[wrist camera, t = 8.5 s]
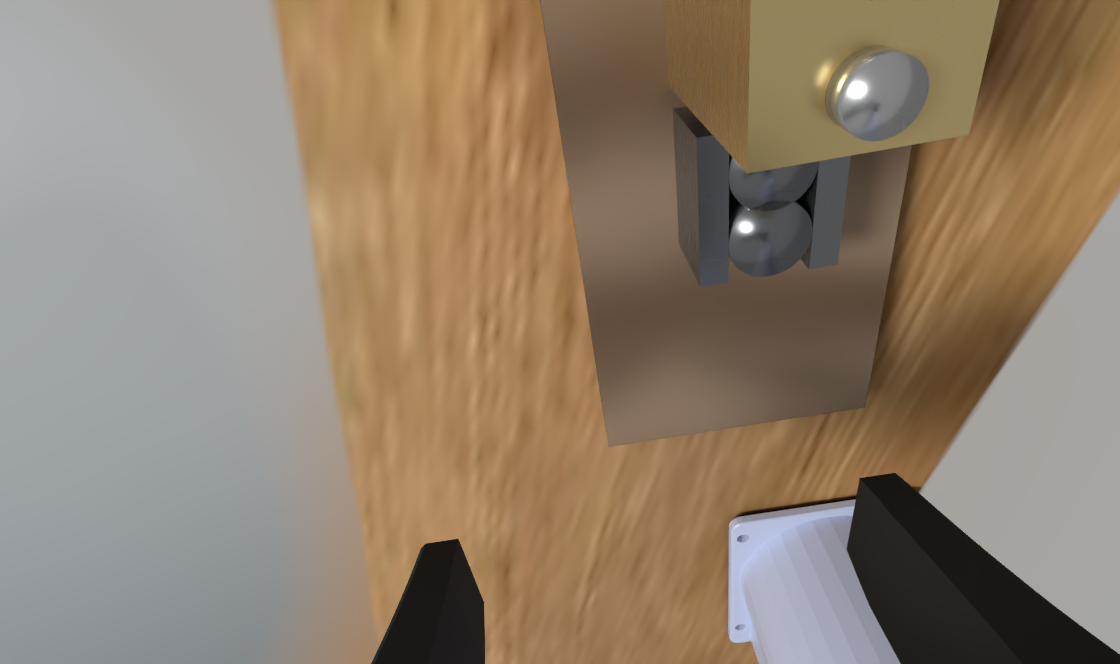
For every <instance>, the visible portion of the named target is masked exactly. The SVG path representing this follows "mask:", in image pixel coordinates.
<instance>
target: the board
mask: <svg viewBox="0 0 1120 664" xmlns="http://www.w3.org/2000/svg"><path fill="white" fill-rule="evenodd" d="M540 3H541V9H542V16H543V22H544V29H545V35H546V42H547V48H548V55H549V61H550V68H551V75H552V81H553V88H554V94H555V101H556V107H557V114H558V120H559V127H560V133H561V140H562V146H563V153H564V159H565V166H566V172H567V179H568V185H569V192H570V199H571V205H572V212H573V218H574V225H575V231H576V238H577V244H578V251H579V257H580V264H581V270H582V277H583V283H584V290H585V296H586V303H587V310H588V316H589V323H590V329H591V336H592V342H593V349H594V355H595V362H596V368H597V375H598V381H599V388H600V394H601V401H602V407H603V414H604V421H605V427H606V433H607V438H608V444H609V447H611V446H618V445H624V444H631V443H637V442H644V441H650V440H656V439H663V438H669V437H676V436H682V435H689V434H695V433H702V432H708V431H714V430H721V429H727V428H734V427H740V426H747V425H753V424H760V423H766V422H772V421H779V420H785V419H792V418H798V417H805V416H811V415H818V414H824V413H830V412H837V411H843V410H850V409H856V408H863V407H865V405H866V400H867V394H868V389H869V383H870V377H871V372H872V366H873V361H874V355H875V349H876V344H877V338H878V333H879V327H880V322H881V316H882V310H883V305H884V299H885V294H886V288H887V283H888V277H889V271H890V266H891V260H892V255H893V249H894V243H895V238H896V232H897V227H898V221H899V216H900V210H901V204H902V199H903V193H904V188H905V182H906V176H907V171H908V165H909V160H910V154H911V149H912V145H909V146H903V147H897V148H891V149H886V150H880V151H874V152H868V153H863V154H857V155H851V159H850V168H849V176H848V184H847V192H846V200H845V209H844V217H843V225H842V233H841V241H840V249H839V258H838V265H834V266H828V267H822V268H816V269H810V270H809V269H808V268H807V266H806V265H805V264H804V263H803V262H802V260H801V259H800V260H799V261H798V262H797V263H795V264H794V265H793V266H792V267H790V268H789V269H787V270H785V271H783V272H781V273H779V274H776V275H772V276H766V277H757V276H751V275H748V274H746V273H744V272H742V271H740V270H739V269H738V268H737V267H736V266H735V265H734V263H733V262H732V260H731V259H730V257H729V279H728V283H724V284H718V285H712V286H706V287H700V286H699V284H698V282H697V280H696V278H695V276H694V274H693V272H692V270H691V268H690V266H689V264H688V261H687V259H686V257H685V255H684V253H683V251H682V249H681V247H680V245H679V235H678V213H677V192H676V171H675V149H674V128H673V108H679V107H684V106H686V105H685V104H684V103H683V102H682V101H681V99H680V98H679V97H678V96H677V95H676V94H675V93H674V92H673V91H672V89H671V88H670V87H669V80H668V61H667V42H666V23H665V4H664V0H540Z"/></svg>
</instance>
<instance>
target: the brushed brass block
mask: <svg viewBox="0 0 1120 664" xmlns="http://www.w3.org/2000/svg"><path fill="white" fill-rule="evenodd" d="M999 1H1000V0H664V4H665V23H666V42H667V61H668V80H669V87H670V88H671V89H672V91H673V92H674V93H675V94H676V95H677V96H678V97H679V98H680V99H681V101H682V102H683V103H684V104H685V105H686V106H687V107H688V108H689V109H690V111H691V112H692V113H693V114H694V115H695V116H696V117H697V118H698V119H699V121H700V122H701V123H702V124H703V125H704V126H705V127H706V128H707V129H708V131H709V132H710V133H711V134H712V135H713V136H714V137H715V138H716V139H717V141H718V142H719V143H720V144H721V145H722V146H723V147H724V148H725V149H726V150H727V152H728V153H729V154H730V155H731V156H732V157H733V158H734V159H735V160H736V162H737V163H738V164H739V165H740V166H741V167H742V168H743V169H744V170H745V172H746V173H747V174H748V173H753V172H759V171H765V170H771V169H776V168H782V167H788V166H794V165H799V164H805V163H811V162H817V161H822V160H828V159H834V158H840V157H845V156H851V155H857V154H863V153H868V152H874V151H880V150H886V149H891V148H897V147H903V146H909V145H914V144H920V143H926V142H932V141H937V140H943V139H949V138H955V137H960V136H966V135H969V133H970V128H971V124H972V119H973V115H974V111H975V106H976V102H977V97H978V93H979V89H980V84H981V80H982V75H983V71H984V67H985V62H986V58H987V53H988V49H989V45H990V40H991V36H992V32H993V27H994V23H995V18H996V14H997V10H998V5H999Z"/></svg>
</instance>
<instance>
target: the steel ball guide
mask: <svg viewBox="0 0 1120 664" xmlns="http://www.w3.org/2000/svg"><path fill="white" fill-rule="evenodd" d="M673 128H674V149H675V171H676V192H677V213H678V235H679V245H680V247H681V249H682V251H683V253H684V255H685V257H686V259H687V261H688V264H689V266H690V268H691V270H692V272H693V274H694V276H695V278H696V280H697V282H698V284H699V286H700V287H706V286H712V285H718V284H724V283H728V279H729V257H730V259H731V260H732V262H733V263H734V265H735V266H736V267H737V268H738V269H739V270H740V271H742V272H744V273H746V274H748V275H751V276H757V277H766V276H772V275H776V274H779V273H781V272H783V271H785V270H787V269H789V268H790V267H792V266H793V265H794V264H795V263H797V262H798V261H799V260H800V259H801V260H802V262H803V263H804V264H805V265H806V266H807V268H808V269H809V270H810V269H816V268H822V267H828V266H834V265H838V258H839V249H840V241H841V233H842V225H843V217H844V209H845V200H846V192H847V184H848V176H849V168H850V159H851V156H845V157H840V158H834V159H828V160H822V161H817V162H811V163H805V164H799V165H794V166H788V167H782V168H776V169H771V170H765V171H759V172H753V173H748V174H747V173H746V172H745V170H744V169H743V168H742V167H741V166H740V165H739V164H738V163H737V162H736V160H735V159H734V158H733V157H732V156H731V155H730V154H729V153H728V152H727V150H726V149H725V148H724V147H723V146H722V145H721V144H720V143H719V142H718V141H717V139H716V138H715V137H714V136H713V135H712V134H711V133H710V132H709V131H708V129H707V128H706V127H705V126H704V125H703V124H702V123H701V122H700V121H699V119H698V118H697V117H696V116H695V115H694V114H693V113H692V112H691V111H690V109H689V108H688V107H687V106H684V107H679V108H673Z"/></svg>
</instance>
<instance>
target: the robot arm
mask: <svg viewBox="0 0 1120 664" xmlns="http://www.w3.org/2000/svg"><path fill="white" fill-rule="evenodd" d="M728 634H729V637H730V640H731V641H732V642H735V643H741V642H748V641H752V644H753V648H754V651H755V654H756V657H757V660H758V663H759V664H1120V654H1118V653H1117V652H1116V651H1114V650H1113V649H1111V648H1110V647H1109V646H1107V645H1106V644H1105V643H1103V642H1102V641H1100V640H1099V639H1098V638H1096V637H1095V636H1094V635H1092V634H1091V633H1090V632H1088V631H1087V630H1086V629H1084V628H1083V627H1082V626H1080V625H1079V624H1077V623H1076V622H1075V621H1074V620H1072V619H1071V618H1070V617H1068V616H1067V615H1065V614H1064V613H1063V612H1062V611H1060V610H1059V609H1057V608H1056V607H1055V606H1053V605H1052V604H1051V603H1050V602H1048V601H1047V600H1046V599H1045V598H1043V597H1042V596H1041V595H1040V594H1038V593H1037V592H1035V590H1033V589H1032V588H1031V587H1029V586H1028V585H1027V584H1026V583H1024V582H1023V581H1022V580H1021V579H1020V578H1018V577H1017V576H1016V575H1014V573H1012V572H1011V571H1010V570H1008V569H1007V568H1006V567H1005V566H1004V565H1002V564H1001V563H1000V562H999V561H997V560H996V559H995V558H994V557H993V556H991V555H990V554H988V552H986V551H985V550H984V549H983V548H982V547H981V546H979V545H978V544H977V543H976V542H974V541H973V540H972V539H971V538H970V537H969V536H968V535H966V534H965V533H964V532H963V531H962V530H961V529H959V528H958V527H957V526H956V525H955V524H953V523H952V522H951V521H950V520H949V519H948V518H947V517H945V516H944V515H943V514H942V513H941V512H940V511H938V510H937V509H936V508H935V507H934V506H933V505H932V504H931V503H929V502H928V501H927V500H926V499H925V498H924V497H923V496H921V495H920V494H919V492H917V491H916V490H915V489H913V488H912V487H911V486H910V485H909V484H908V483H907V482H905V481H904V480H903V479H902V478H901V477H900V476H898V475H897V474H896V473H892V474H885V475H878V476H872V477H865V478H860V480H859V486H858V491H857V496H856V499H854V500H847V501H840V502H833V503H827V504H820V505H813V506H807V507H800V508H793V509H787V510H780V511H773V512H767V513H760V514H753V515H747V516H740V517H737V518H735V519H733V520H732V521H731V522H730V524H729V580H728ZM371 664H485V628H484V601H483V599H482V597H481V594H480V592H479V589H478V587H477V584H476V582H475V579H474V577H473V574H472V572H471V569H470V567H469V564H468V562H467V559H466V557H465V554H464V552H463V549H462V547H461V544H460V542H459V539H454V540H448V541H441V542H434V543H428V544H425V545H424V546H423V547H422V548H421V550H420V553H419V555H418V558H417V561H416V563H415V566H414V568H413V571H412V573H411V576H410V578H409V581H408V583H407V586H406V588H405V590H404V593H403V595H402V598H401V600H400V602H399V605H398V607H397V609H396V611H395V614H394V616H393V618H392V620H391V623H390V625H389V627H388V629H387V632H386V634H385V636H384V638H383V640H382V642H381V644H380V646H379V649H378V651H377V653H376V655H375V657H374V659H373V661H372V663H371Z"/></svg>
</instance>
